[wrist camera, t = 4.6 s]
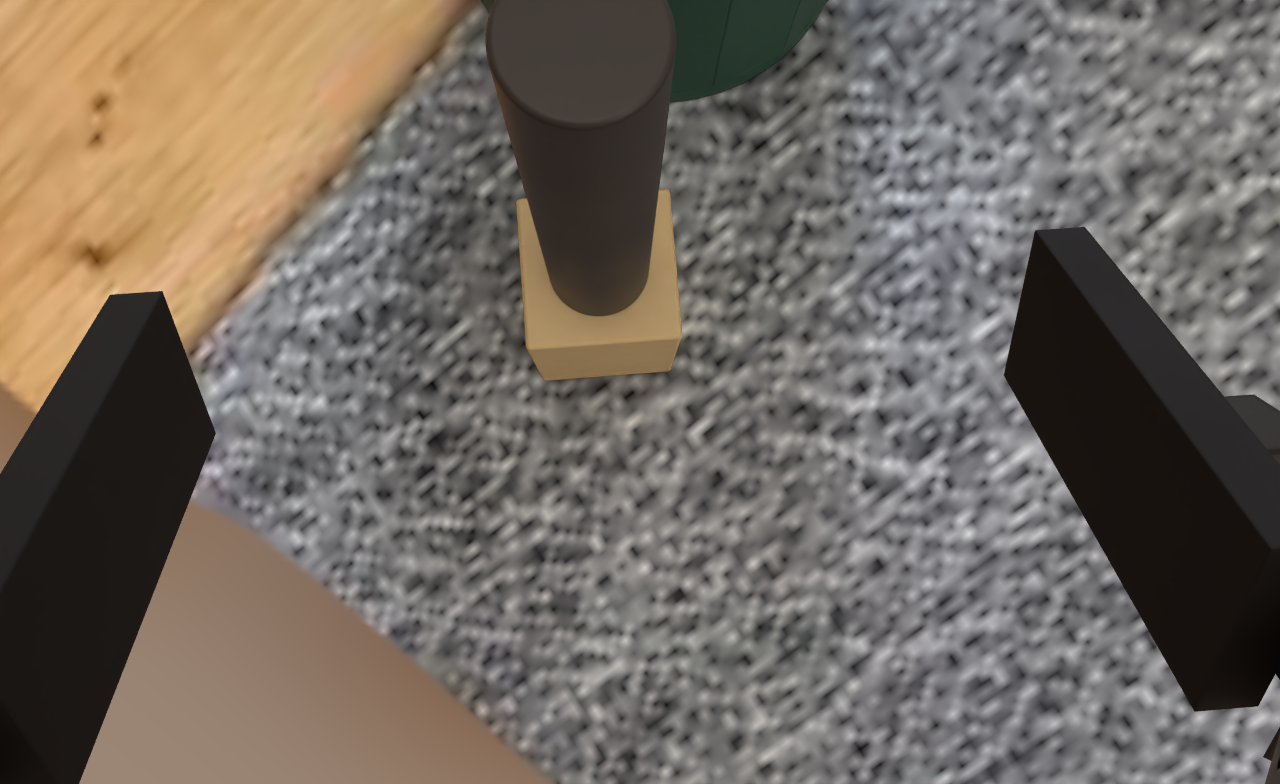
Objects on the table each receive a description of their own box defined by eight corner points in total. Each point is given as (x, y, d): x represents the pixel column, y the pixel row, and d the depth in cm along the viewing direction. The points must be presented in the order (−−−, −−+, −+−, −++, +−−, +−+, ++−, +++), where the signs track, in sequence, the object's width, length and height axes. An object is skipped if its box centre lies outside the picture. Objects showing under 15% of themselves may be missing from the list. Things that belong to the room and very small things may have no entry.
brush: (542, 381, 28) (440, 189, 12) (533, 255, 28) (423, -95, 12) (671, 371, 28) (741, 168, 12) (660, 246, 28) (715, -113, 12)
